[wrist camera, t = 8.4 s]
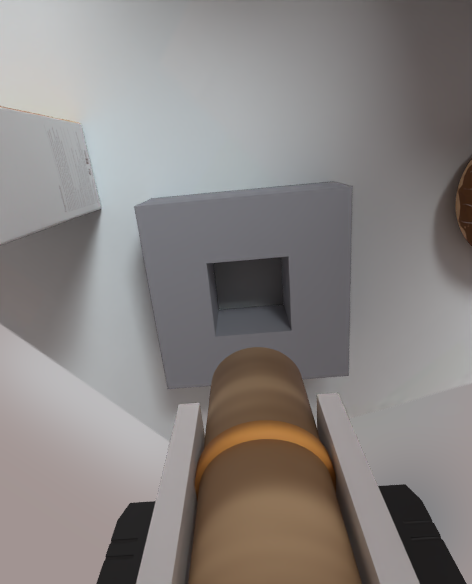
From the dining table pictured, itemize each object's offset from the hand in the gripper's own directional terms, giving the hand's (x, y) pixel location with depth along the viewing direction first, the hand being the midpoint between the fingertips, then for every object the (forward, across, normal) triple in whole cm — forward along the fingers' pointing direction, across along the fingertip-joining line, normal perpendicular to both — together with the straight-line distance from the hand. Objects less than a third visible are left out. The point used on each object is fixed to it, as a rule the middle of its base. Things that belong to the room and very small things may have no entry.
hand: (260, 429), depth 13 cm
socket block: (+18, 0, 0) cm, 18 cm away
